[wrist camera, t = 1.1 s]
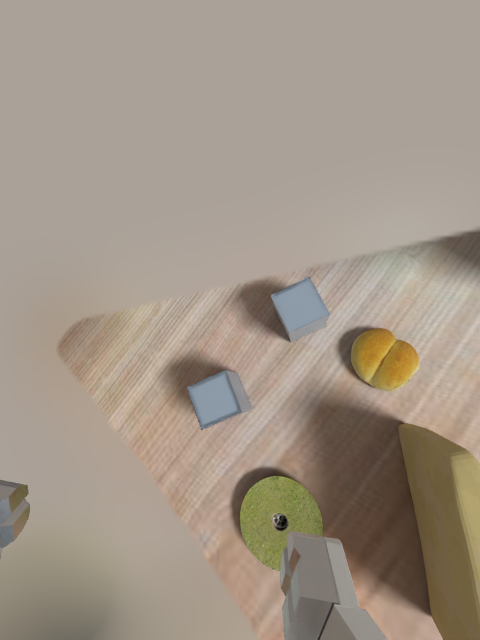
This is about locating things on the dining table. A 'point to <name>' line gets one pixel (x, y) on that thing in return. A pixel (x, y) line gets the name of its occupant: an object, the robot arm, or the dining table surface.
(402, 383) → the bread roll
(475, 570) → the cheese
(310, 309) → the gray notched block
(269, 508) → the mat
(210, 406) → the grey stool
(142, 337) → the dining table surface
